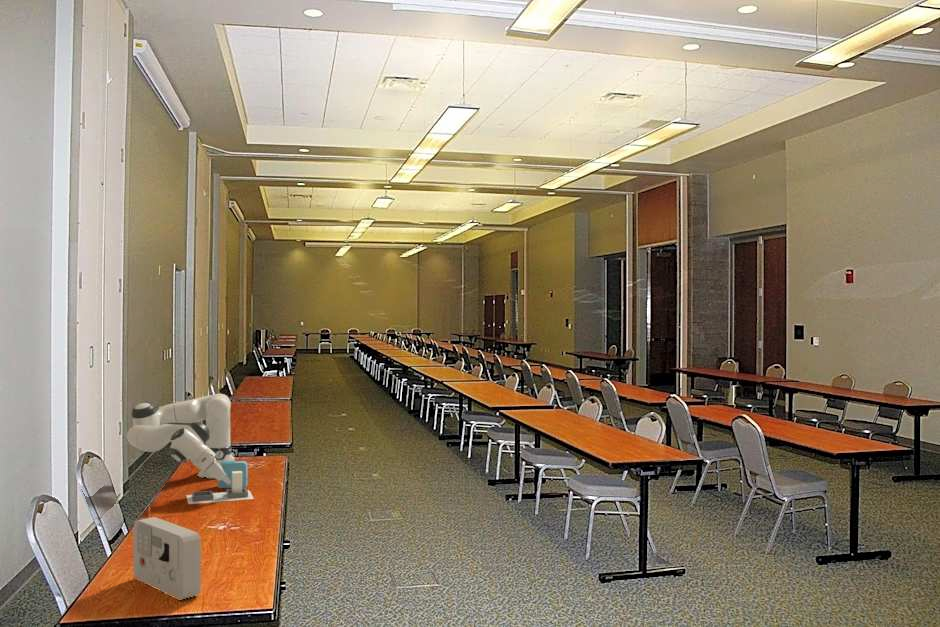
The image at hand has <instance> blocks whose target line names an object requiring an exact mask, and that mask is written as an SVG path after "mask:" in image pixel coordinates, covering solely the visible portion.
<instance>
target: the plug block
mask: <svg viewBox="0 0 940 627" xmlns="http://www.w3.org/2000/svg"><path fill="white" fill-rule="evenodd" d="M242 478H243V473H242V471H232V488H231V489H232V493H239V492H242Z"/></svg>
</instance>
